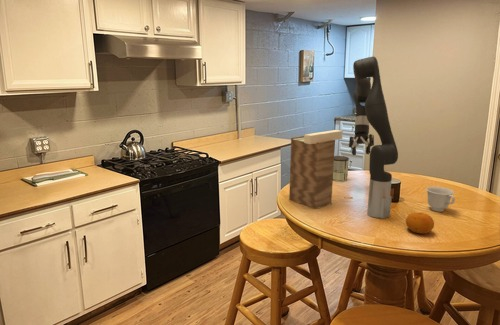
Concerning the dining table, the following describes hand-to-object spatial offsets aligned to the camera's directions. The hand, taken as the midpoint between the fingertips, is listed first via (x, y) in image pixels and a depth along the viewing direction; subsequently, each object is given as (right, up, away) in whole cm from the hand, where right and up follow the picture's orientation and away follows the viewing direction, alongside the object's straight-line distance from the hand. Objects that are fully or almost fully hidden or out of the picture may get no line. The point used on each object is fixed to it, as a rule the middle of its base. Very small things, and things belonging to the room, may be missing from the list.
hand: (360, 154), depth 194 cm
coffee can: (-4, -15, +31) cm, 35 cm away
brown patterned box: (-29, -25, -9) cm, 39 cm away
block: (-24, +6, -18) cm, 31 cm away
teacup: (+32, -28, -21) cm, 47 cm away
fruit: (+11, -33, -44) cm, 56 cm away
